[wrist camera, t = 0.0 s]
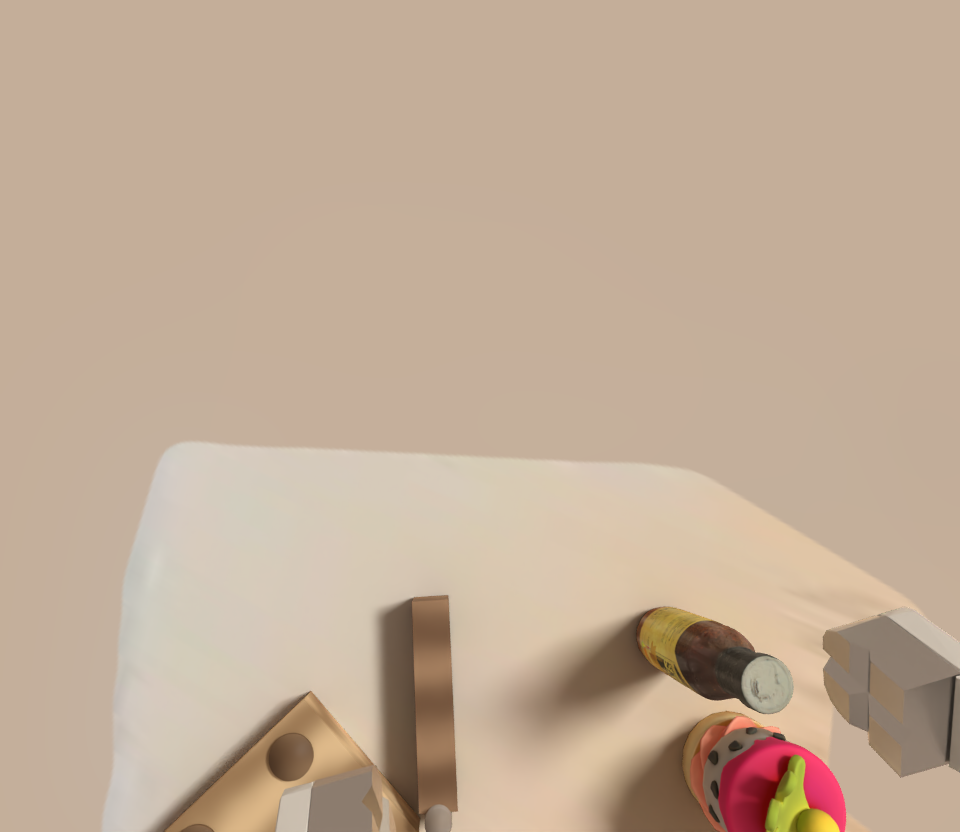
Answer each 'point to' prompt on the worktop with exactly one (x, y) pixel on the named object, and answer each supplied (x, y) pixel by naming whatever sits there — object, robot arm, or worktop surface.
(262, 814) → the stool seat
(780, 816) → the cake
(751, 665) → the sauce bottle
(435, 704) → the brown wooden block
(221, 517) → the worktop surface
